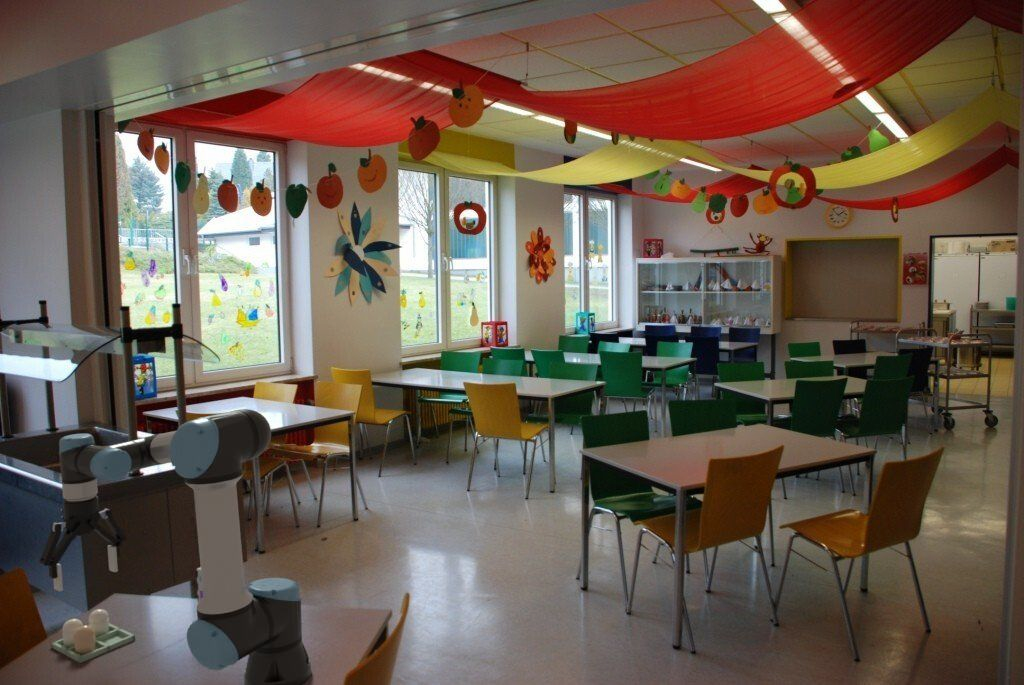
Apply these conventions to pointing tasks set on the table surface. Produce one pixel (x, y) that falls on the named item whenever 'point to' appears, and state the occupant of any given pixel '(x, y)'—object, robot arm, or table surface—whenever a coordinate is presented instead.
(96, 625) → the cream egg
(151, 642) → the table surface
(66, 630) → the cream egg
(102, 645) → the egg tray
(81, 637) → the brown egg
